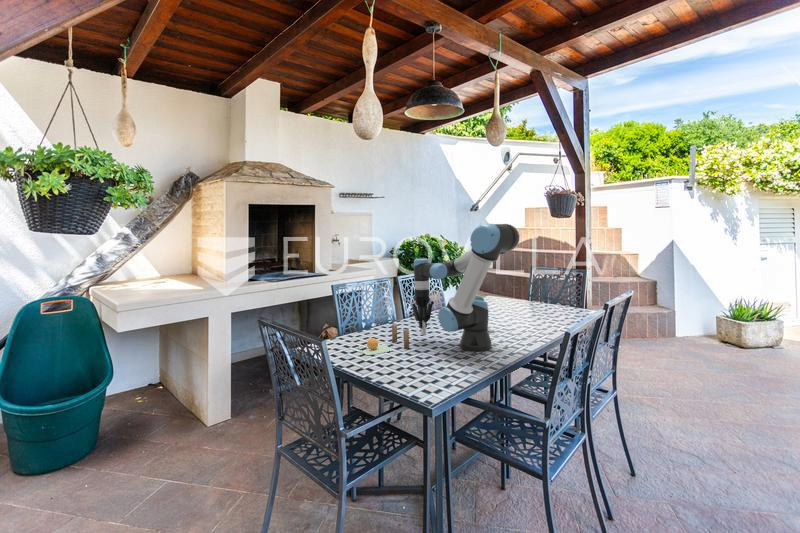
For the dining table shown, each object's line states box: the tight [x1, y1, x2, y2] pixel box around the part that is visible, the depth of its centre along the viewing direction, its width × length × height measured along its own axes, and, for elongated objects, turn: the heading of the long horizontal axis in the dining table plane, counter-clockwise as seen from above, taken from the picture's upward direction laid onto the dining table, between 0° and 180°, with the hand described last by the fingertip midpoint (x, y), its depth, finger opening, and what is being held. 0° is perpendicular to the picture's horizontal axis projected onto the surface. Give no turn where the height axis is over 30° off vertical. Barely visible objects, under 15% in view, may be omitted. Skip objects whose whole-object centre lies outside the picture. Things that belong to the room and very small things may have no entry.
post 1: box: [391, 323, 398, 343], centre depth 197 cm, size 3×3×9 cm
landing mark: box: [360, 343, 395, 356], centre depth 185 cm, size 14×14×1 cm
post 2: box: [403, 328, 410, 350], centre depth 186 cm, size 3×3×9 cm
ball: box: [366, 337, 379, 350], centre depth 185 cm, size 6×6×6 cm
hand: (423, 334), depth 197 cm, fingers closed
